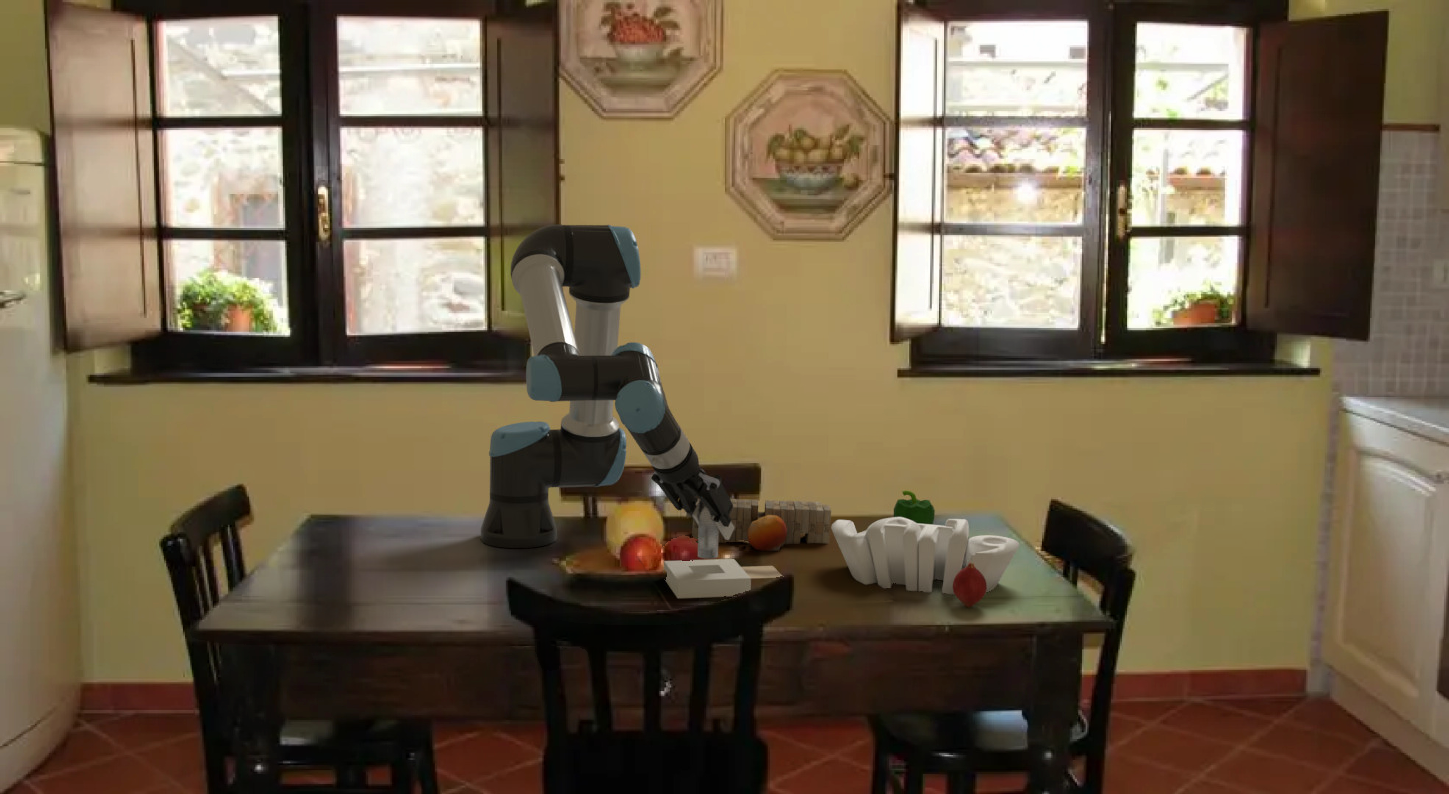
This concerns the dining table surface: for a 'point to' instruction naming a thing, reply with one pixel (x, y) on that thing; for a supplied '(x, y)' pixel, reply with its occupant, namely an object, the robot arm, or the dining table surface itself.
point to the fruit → (767, 533)
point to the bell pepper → (915, 509)
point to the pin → (707, 534)
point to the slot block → (706, 578)
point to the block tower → (793, 513)
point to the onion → (969, 585)
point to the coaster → (761, 572)
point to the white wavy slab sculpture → (920, 553)
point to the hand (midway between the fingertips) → (719, 531)
